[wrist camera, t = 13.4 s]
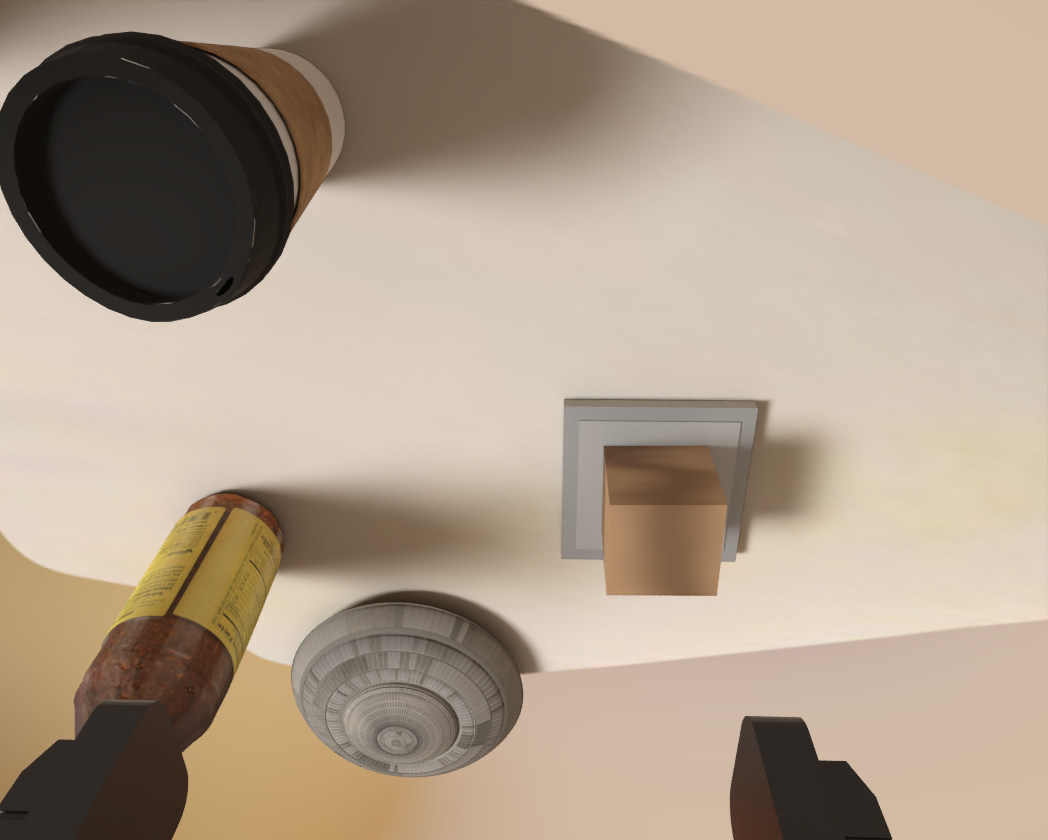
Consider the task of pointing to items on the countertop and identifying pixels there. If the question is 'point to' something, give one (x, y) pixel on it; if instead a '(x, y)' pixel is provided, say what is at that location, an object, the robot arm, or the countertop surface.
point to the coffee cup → (165, 166)
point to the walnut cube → (661, 520)
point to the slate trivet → (649, 425)
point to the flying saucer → (406, 688)
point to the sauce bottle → (189, 616)
